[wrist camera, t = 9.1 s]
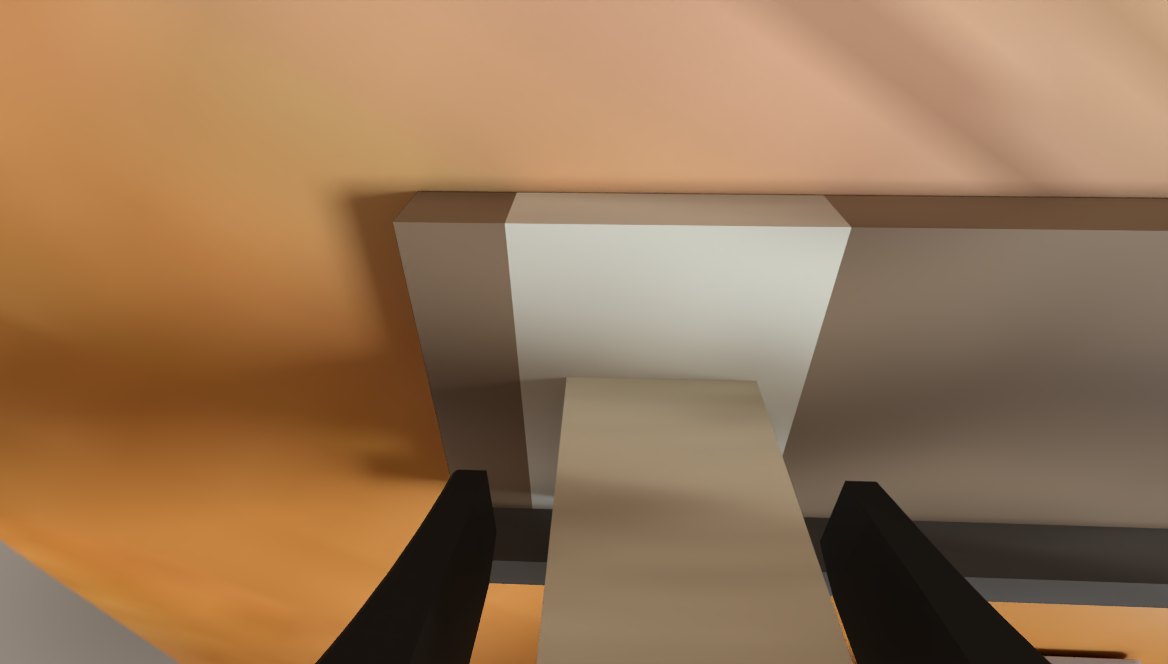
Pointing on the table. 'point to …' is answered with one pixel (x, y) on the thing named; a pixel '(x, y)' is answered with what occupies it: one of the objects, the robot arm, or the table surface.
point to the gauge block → (679, 533)
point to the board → (830, 359)
